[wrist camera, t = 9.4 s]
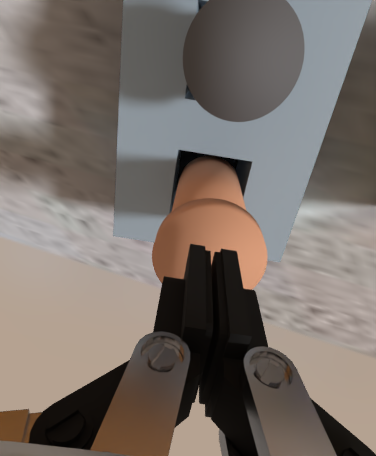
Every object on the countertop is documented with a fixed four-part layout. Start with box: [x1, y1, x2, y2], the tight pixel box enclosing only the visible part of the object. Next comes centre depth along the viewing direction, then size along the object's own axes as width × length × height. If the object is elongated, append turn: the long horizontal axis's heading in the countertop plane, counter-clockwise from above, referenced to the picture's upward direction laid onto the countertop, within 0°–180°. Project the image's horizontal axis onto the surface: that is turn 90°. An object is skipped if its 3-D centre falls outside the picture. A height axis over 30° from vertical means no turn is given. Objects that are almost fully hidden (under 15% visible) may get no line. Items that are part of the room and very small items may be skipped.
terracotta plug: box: [152, 156, 268, 290], centre depth 17 cm, size 5×5×9 cm
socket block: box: [113, 0, 372, 262], centre depth 19 cm, size 24×12×6 cm, turn 171°
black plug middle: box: [183, 0, 305, 122], centre depth 17 cm, size 5×5×9 cm
